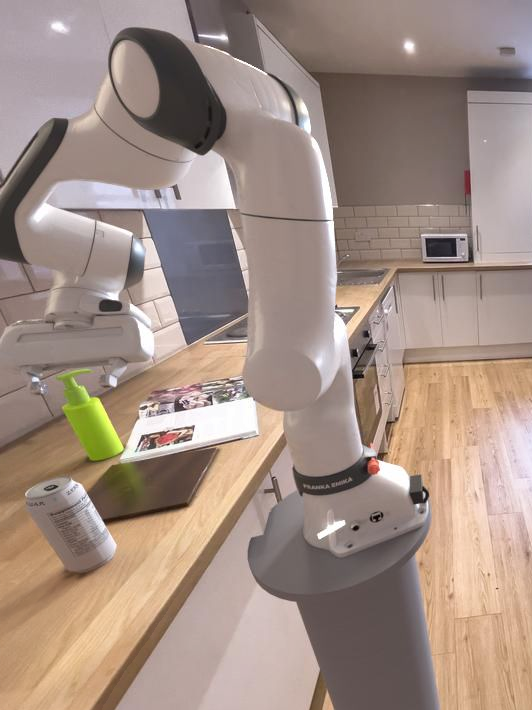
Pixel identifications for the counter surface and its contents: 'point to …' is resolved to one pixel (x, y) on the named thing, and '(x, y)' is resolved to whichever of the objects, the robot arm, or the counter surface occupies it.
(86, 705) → the counter surface
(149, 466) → the coaster board
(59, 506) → the energy drink can
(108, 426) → the soap dispenser
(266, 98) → the robot arm
